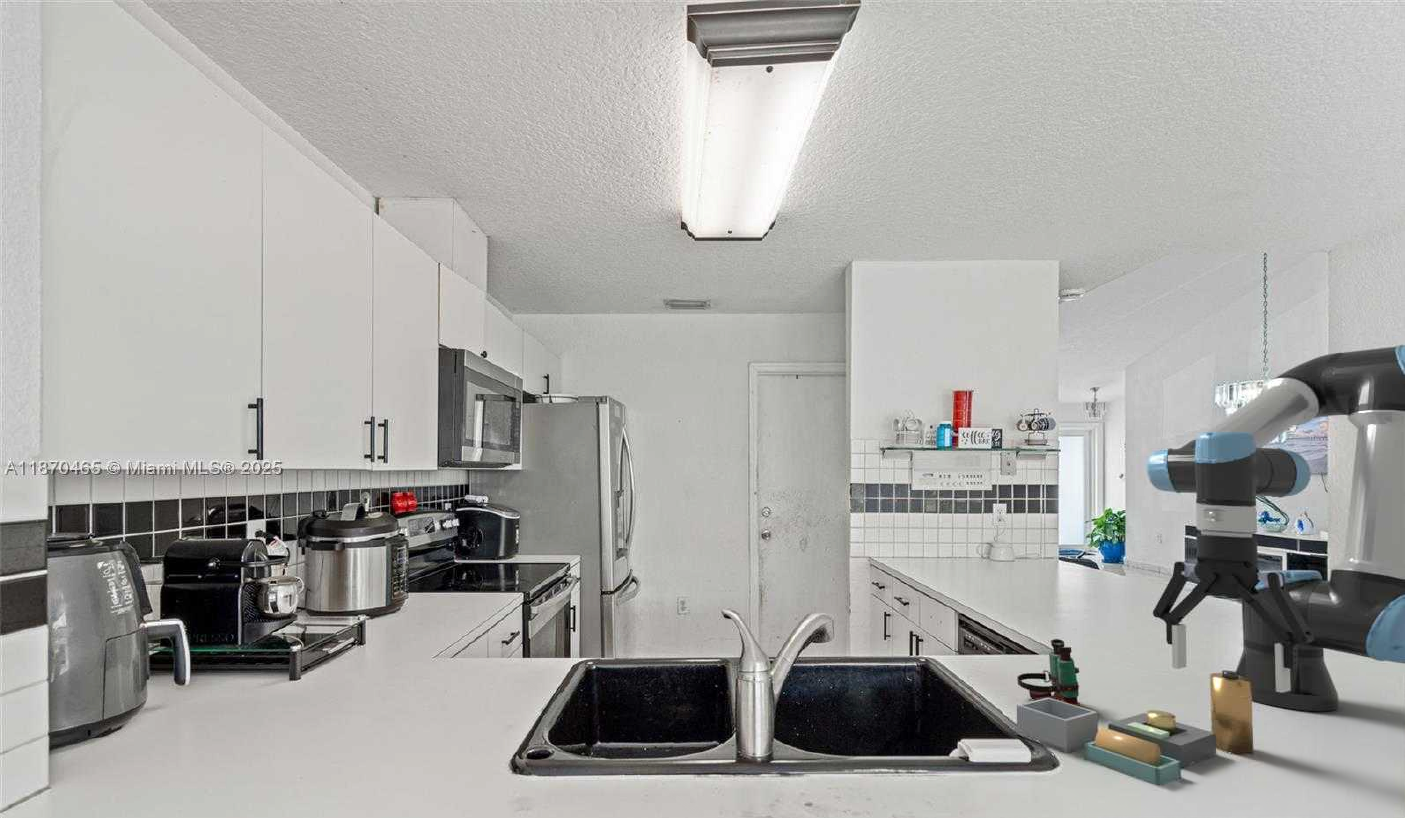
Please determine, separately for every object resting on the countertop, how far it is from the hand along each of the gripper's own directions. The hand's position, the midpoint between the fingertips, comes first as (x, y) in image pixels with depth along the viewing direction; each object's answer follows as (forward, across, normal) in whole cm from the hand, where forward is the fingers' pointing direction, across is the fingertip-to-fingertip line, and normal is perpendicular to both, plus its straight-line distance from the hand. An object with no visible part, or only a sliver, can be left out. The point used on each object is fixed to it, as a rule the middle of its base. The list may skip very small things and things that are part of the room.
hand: (1228, 678), depth 111 cm
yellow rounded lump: (+8, -5, -9) cm, 13 cm away
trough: (+10, -3, -20) cm, 23 cm away
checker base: (+10, -5, -9) cm, 15 cm away
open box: (+10, -15, -19) cm, 27 cm away
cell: (+10, 0, +1) cm, 10 cm away
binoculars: (+10, -26, -4) cm, 28 cm away
